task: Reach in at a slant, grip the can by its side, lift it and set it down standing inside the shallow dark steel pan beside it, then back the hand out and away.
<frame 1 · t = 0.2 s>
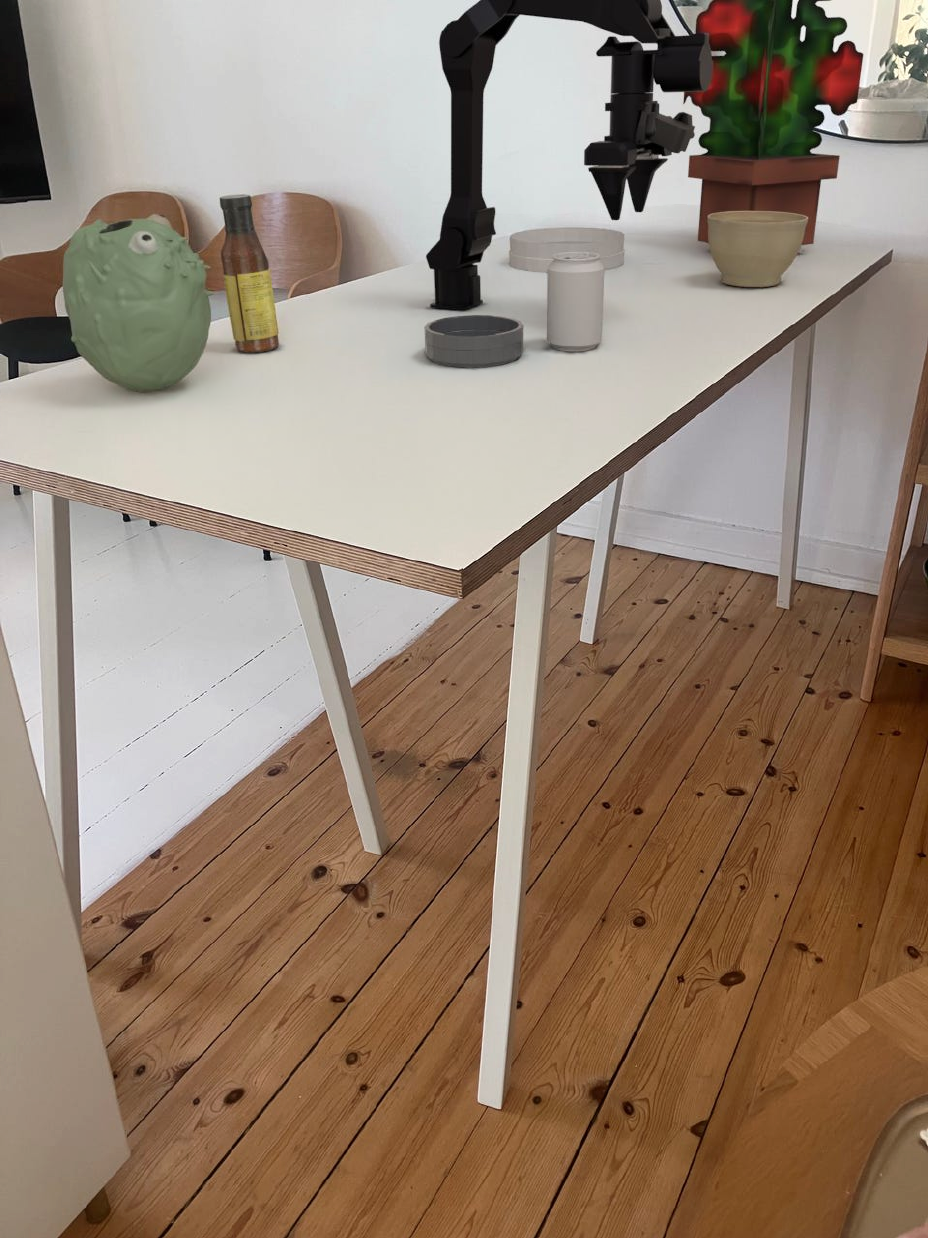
hand: (627, 215, 151), 15 cm above the table, tool pointing down, fingers open, 9 cm apart
dish: (566, 263, 204), on the table
potted plant: (753, 253, 209), on the table
green pufferfish figure: (150, 390, 130), on the table
sauce bottle: (256, 350, 147), on the table
can: (573, 347, 144), on the table
pan: (474, 355, 140), on the table
planter bowl: (750, 284, 181), on the table
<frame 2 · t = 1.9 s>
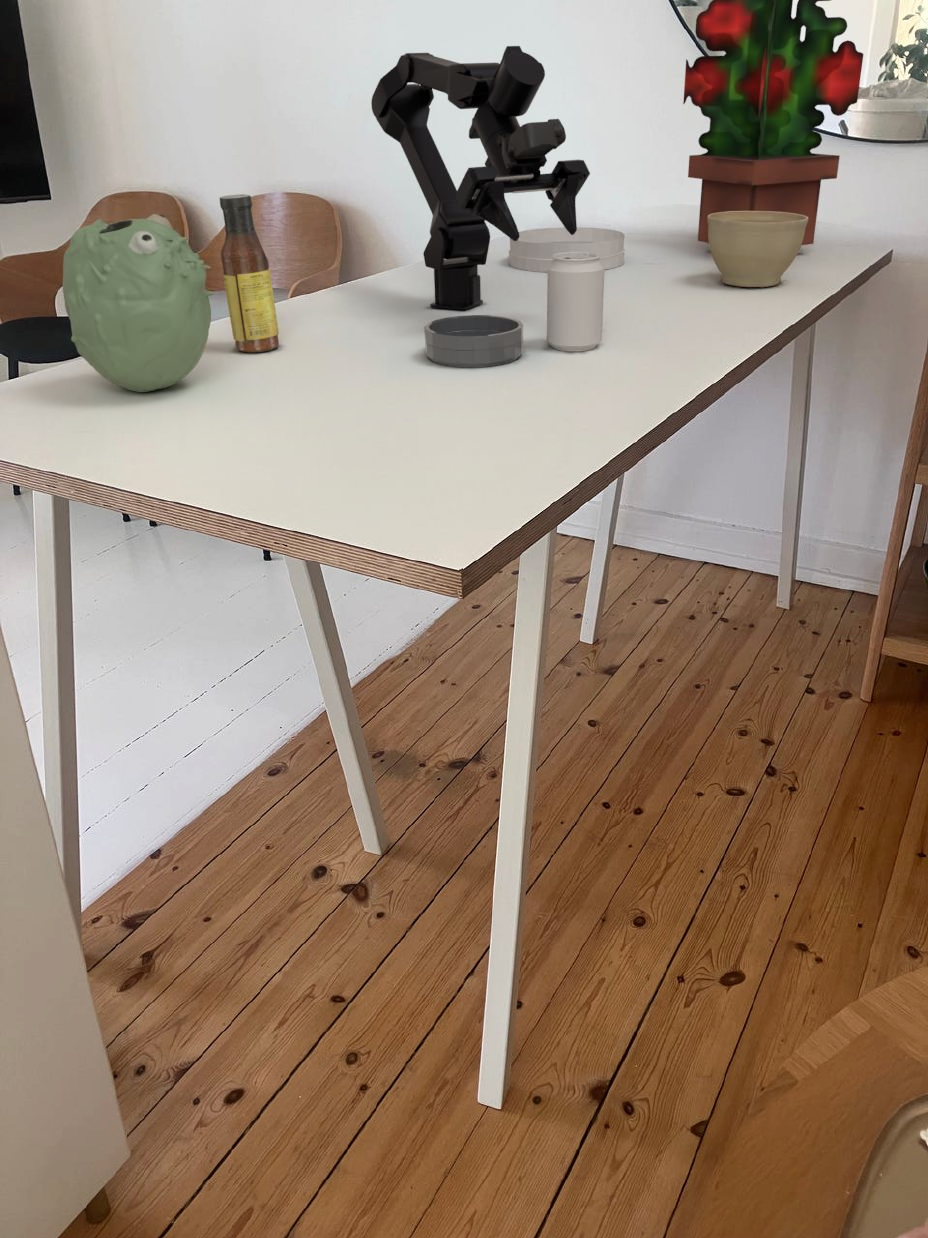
hand: (546, 235, 144), 13 cm above the table, tool tilted 45°, fingers open, 9 cm apart
nothing on the table moved.
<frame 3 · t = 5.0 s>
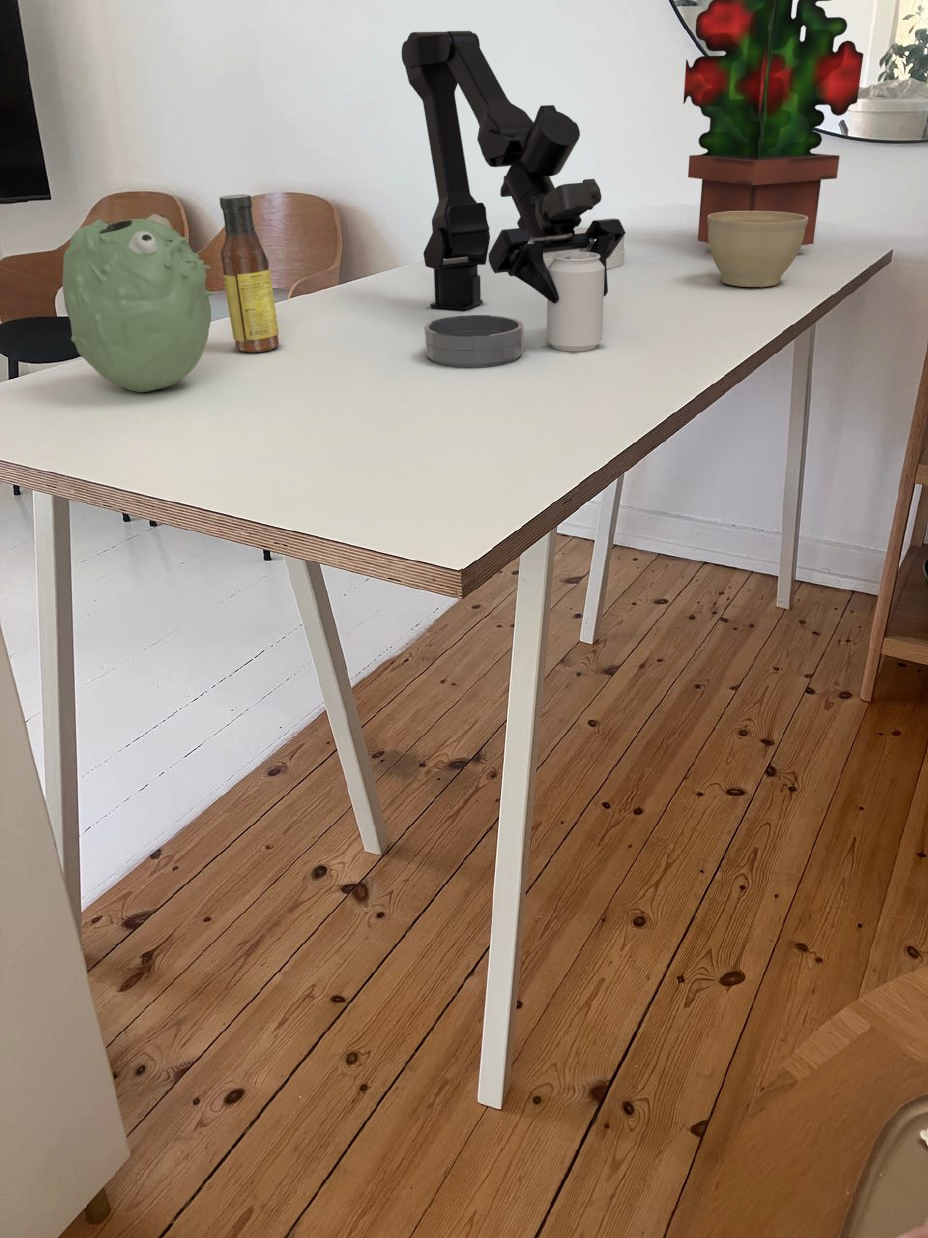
hand: (581, 297, 140), 7 cm above the table, tool tilted 45°, fingers closed on can, 7 cm apart
can: (574, 347, 144), on the table, touching gripper
everything else where it was.
when the fingers open (7 cm above the table, at t = 11.9 s): can stays where it is, resting on pan.
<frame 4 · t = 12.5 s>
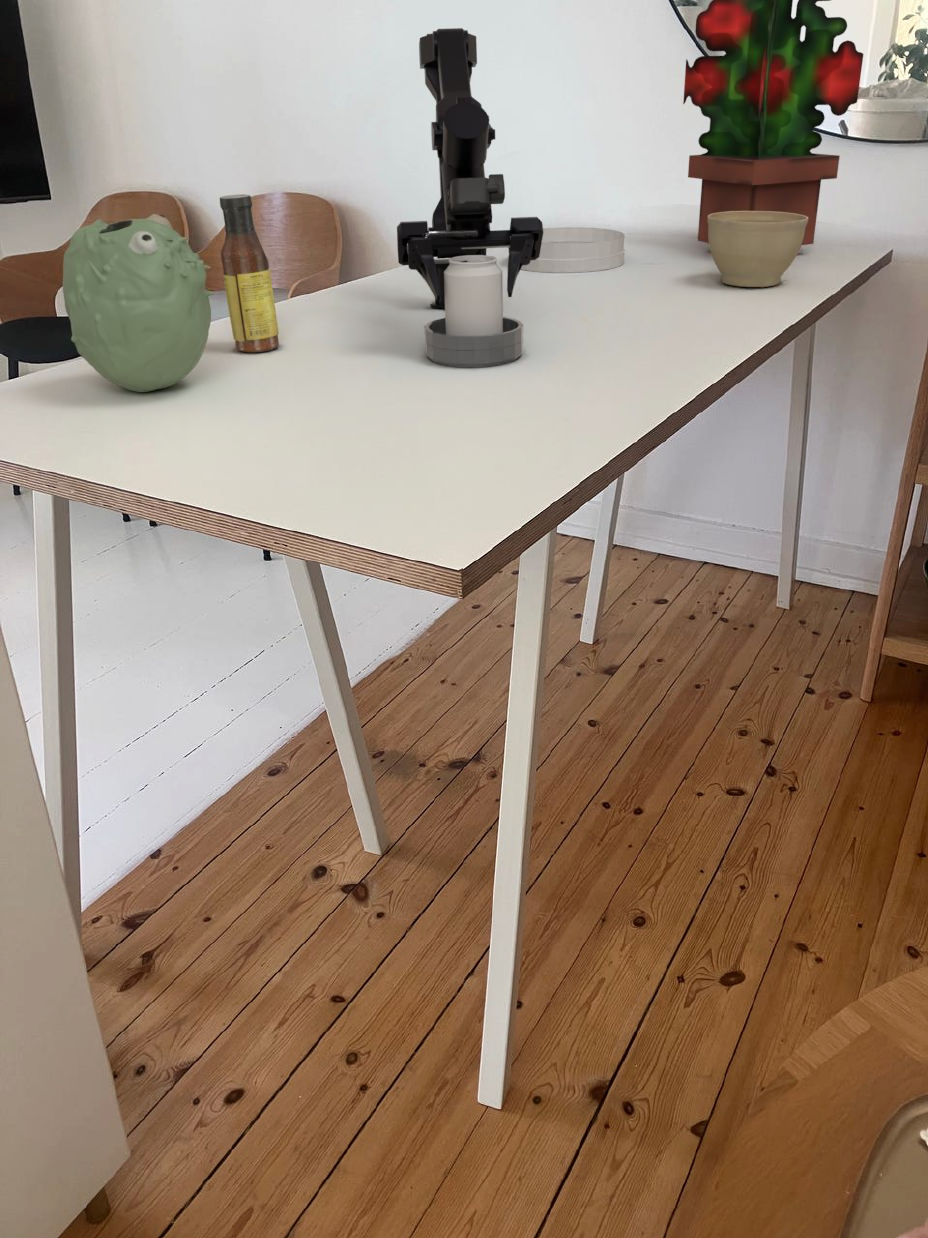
hand: (474, 296, 135), 8 cm above the table, tool tilted 45°, fingers open, 9 cm apart
can: (474, 353, 140), resting on pan
everything else where it was.
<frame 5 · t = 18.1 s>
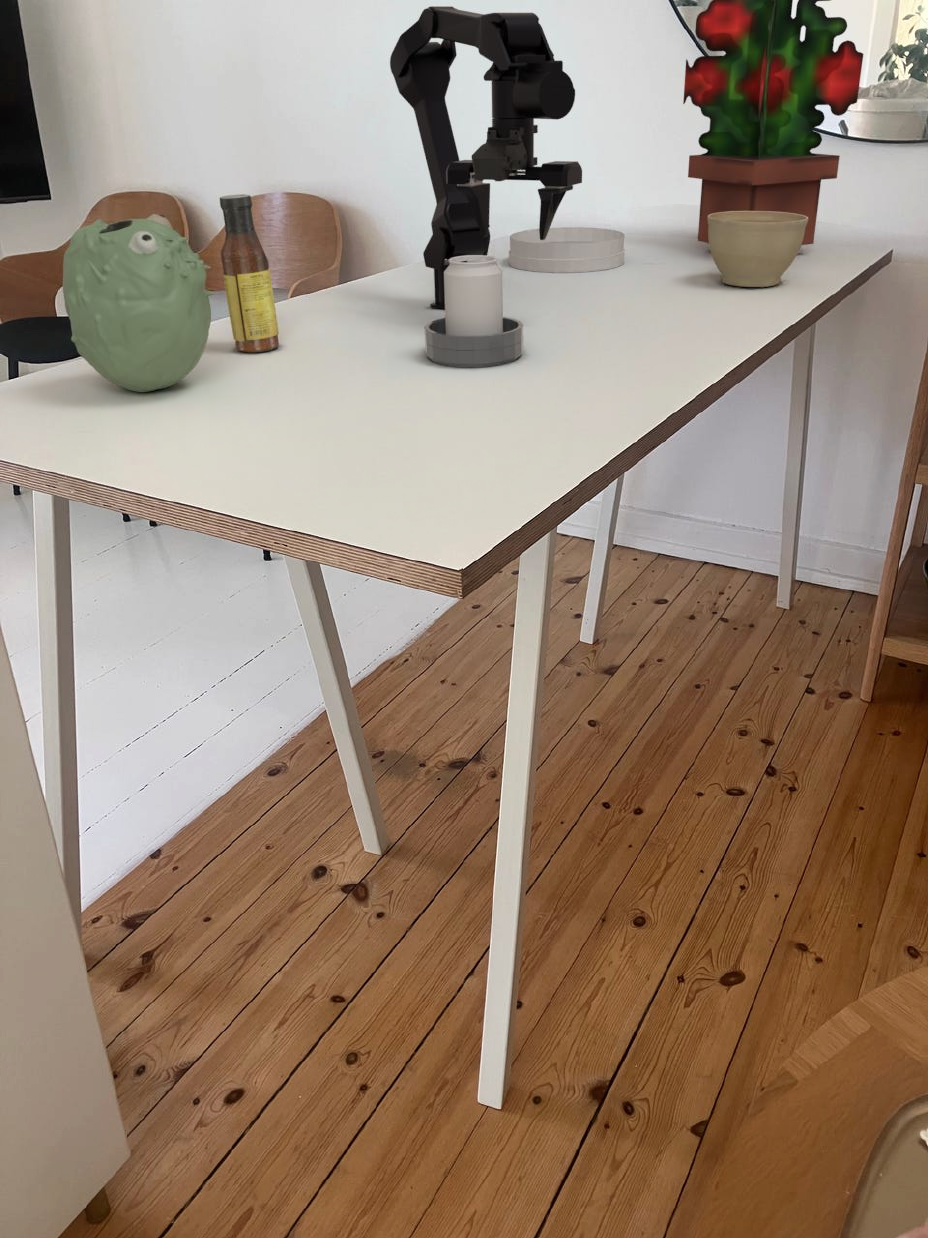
hand: (513, 238, 152), 12 cm above the table, tool pointing down, fingers open, 9 cm apart
nothing on the table moved.
at the end: can 0.1 cm off-centre in the pan, point 0.3 cm above the pan's base; can tilted 0°; the gripper is holding nothing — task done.
